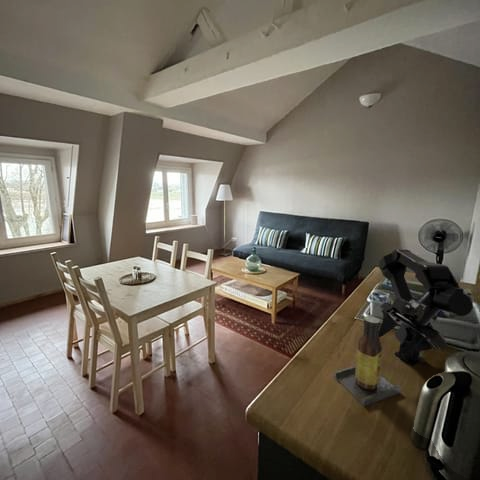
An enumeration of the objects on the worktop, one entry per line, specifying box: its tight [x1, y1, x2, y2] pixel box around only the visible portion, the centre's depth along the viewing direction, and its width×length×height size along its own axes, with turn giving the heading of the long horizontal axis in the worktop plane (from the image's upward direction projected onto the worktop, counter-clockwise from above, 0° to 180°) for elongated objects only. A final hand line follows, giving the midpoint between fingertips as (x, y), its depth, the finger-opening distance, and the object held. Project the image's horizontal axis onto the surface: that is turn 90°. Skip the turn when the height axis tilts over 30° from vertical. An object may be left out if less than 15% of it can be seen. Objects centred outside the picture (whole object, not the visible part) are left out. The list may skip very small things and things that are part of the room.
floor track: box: [333, 364, 402, 407], centre depth 76 cm, size 13×12×2 cm
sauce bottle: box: [355, 315, 383, 390], centre depth 75 cm, size 7×6×20 cm
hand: (389, 345), depth 76 cm, fingers open, 9 cm apart
